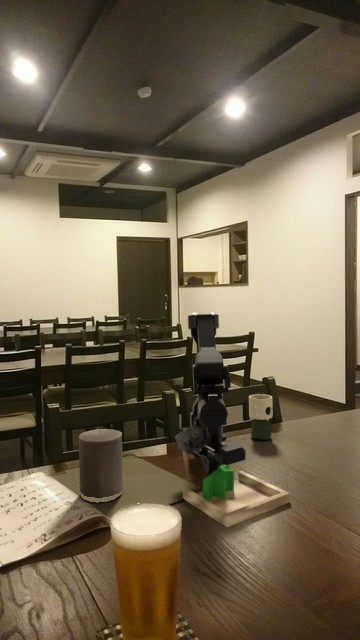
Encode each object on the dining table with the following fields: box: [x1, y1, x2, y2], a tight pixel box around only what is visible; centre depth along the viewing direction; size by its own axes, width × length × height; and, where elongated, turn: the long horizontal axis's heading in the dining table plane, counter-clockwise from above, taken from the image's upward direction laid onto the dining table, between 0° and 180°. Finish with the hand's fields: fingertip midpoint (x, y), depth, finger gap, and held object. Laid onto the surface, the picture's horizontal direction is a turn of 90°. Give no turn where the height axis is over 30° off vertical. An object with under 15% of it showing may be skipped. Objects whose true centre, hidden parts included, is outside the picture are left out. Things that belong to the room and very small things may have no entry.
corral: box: [182, 470, 291, 528], centre depth 96 cm, size 15×17×2 cm
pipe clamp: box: [202, 464, 235, 501], centre depth 99 cm, size 11×4×5 cm, turn 149°
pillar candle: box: [78, 428, 124, 498], centre depth 101 cm, size 10×10×15 cm
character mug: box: [248, 393, 274, 441], centre depth 136 cm, size 11×7×13 cm, turn 153°
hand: (210, 479), depth 103 cm, fingers closed
